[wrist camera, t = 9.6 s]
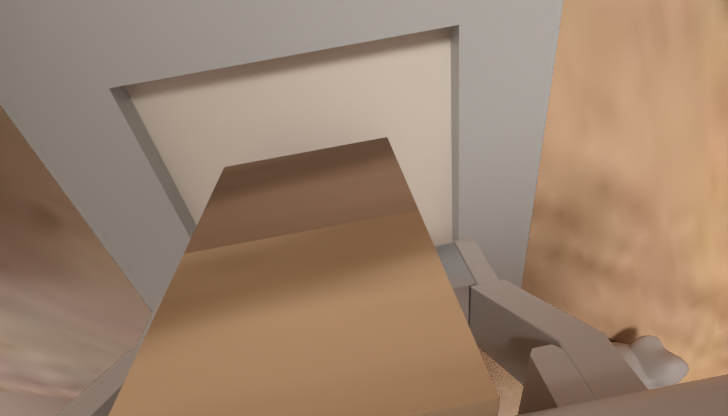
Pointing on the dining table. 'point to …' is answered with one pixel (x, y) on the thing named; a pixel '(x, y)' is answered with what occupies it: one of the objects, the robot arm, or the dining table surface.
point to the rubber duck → (653, 362)
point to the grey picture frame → (280, 107)
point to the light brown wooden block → (310, 302)
